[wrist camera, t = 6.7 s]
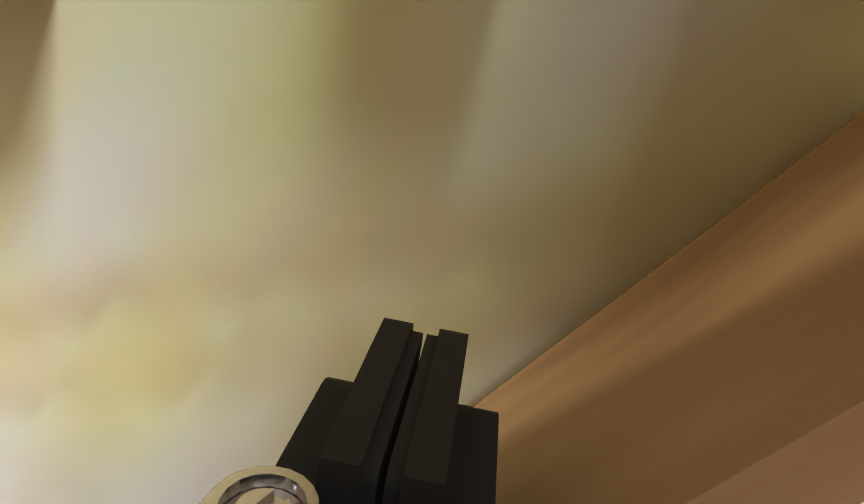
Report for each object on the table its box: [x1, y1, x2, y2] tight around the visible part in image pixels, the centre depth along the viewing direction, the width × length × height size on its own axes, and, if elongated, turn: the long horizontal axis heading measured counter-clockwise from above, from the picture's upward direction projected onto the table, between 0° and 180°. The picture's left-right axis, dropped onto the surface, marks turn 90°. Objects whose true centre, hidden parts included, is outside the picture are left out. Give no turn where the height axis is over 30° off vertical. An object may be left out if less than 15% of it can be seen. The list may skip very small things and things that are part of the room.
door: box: [473, 111, 864, 504], centre depth 11 cm, size 2×14×6 cm, turn 136°
